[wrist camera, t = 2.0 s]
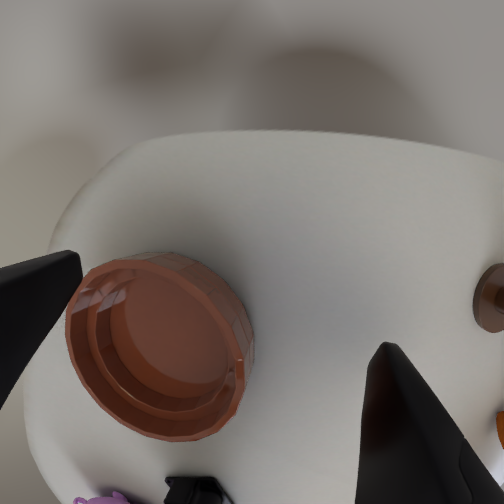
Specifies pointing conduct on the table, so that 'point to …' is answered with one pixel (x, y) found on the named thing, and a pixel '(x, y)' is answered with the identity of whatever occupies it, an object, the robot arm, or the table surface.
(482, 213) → the table surface
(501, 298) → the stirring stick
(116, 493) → the teapot
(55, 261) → the robot arm
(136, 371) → the bowl
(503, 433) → the carrot
